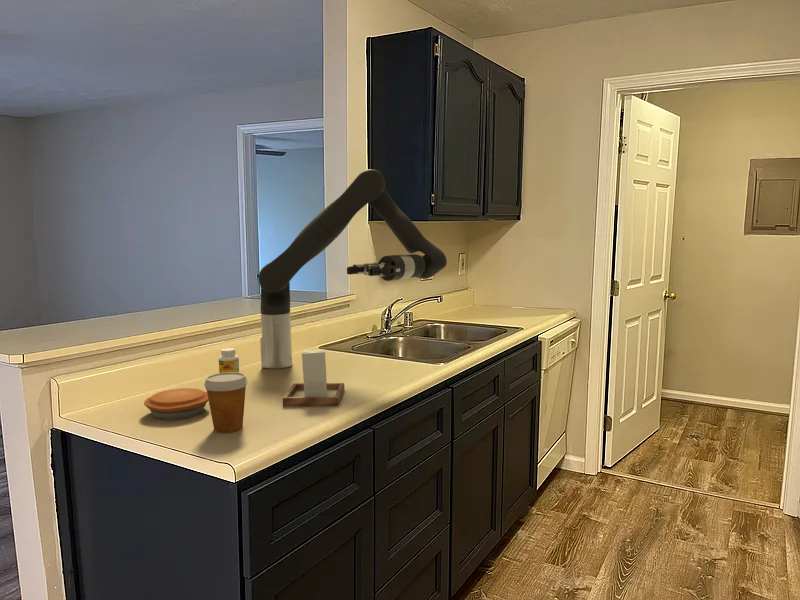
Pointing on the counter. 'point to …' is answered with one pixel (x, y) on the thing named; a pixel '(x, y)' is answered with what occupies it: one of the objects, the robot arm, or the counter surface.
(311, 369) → the skincare box
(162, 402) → the pie
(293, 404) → the tray
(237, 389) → the disposable coffee cup
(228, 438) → the counter surface
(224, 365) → the supplement bottle
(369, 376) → the counter surface
